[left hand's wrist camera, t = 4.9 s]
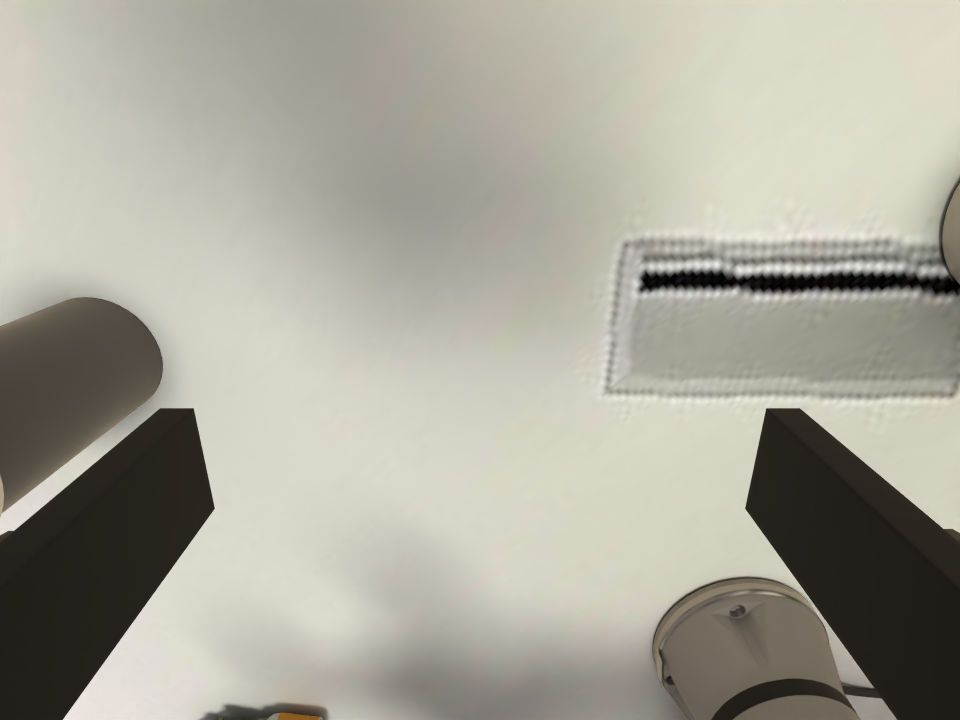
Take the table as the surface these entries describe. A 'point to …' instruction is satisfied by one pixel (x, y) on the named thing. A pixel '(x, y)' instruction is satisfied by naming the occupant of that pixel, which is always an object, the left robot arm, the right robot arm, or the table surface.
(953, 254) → the bust sculpture
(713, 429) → the table surface
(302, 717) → the spray gun
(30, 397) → the jar
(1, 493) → the lid
